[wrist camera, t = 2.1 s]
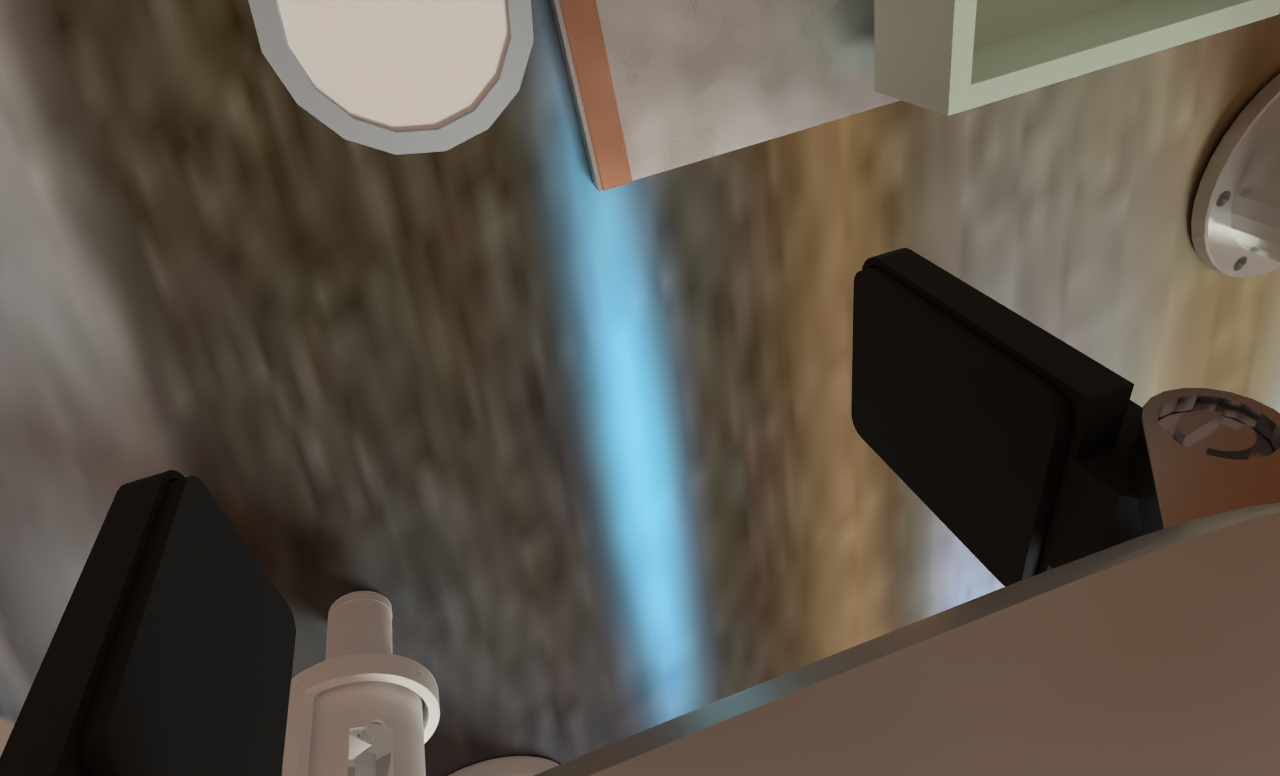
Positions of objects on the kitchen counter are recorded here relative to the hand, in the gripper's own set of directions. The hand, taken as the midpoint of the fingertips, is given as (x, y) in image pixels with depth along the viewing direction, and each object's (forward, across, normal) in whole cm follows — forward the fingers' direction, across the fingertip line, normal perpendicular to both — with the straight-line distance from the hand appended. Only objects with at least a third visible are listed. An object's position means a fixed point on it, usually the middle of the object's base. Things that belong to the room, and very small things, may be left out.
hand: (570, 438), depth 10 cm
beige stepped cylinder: (+20, +12, +22) cm, 32 cm away
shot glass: (+20, 0, -4) cm, 21 cm away
